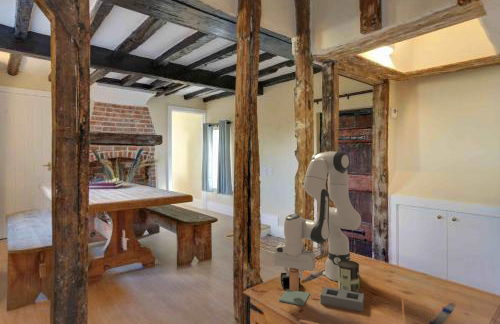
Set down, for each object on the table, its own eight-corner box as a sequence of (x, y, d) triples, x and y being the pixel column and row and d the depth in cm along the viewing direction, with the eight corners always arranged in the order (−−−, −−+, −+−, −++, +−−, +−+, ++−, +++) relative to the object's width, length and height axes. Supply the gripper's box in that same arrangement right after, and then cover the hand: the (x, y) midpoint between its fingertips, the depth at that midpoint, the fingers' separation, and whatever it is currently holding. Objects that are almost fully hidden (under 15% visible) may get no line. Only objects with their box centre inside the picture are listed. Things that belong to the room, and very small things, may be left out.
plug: (291, 286, 143) (290, 266, 143) (300, 288, 141) (299, 267, 141) (288, 290, 139) (288, 269, 139) (297, 292, 137) (297, 271, 137)
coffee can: (357, 287, 150) (357, 260, 150) (361, 296, 140) (360, 268, 140) (337, 286, 152) (336, 259, 152) (339, 295, 142) (338, 267, 142)
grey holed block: (324, 296, 141) (324, 286, 141) (364, 304, 133) (363, 293, 133) (320, 305, 133) (320, 294, 133) (362, 313, 125) (362, 302, 125)
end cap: (299, 282, 158) (298, 270, 157) (301, 288, 150) (300, 275, 150) (280, 283, 158) (280, 270, 158) (282, 289, 151) (281, 276, 150)
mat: (287, 290, 149) (287, 288, 149) (310, 294, 143) (310, 293, 143) (279, 301, 138) (279, 299, 138) (303, 306, 133) (303, 304, 133)
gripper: (316, 249, 138) (316, 277, 139) (276, 244, 147) (277, 271, 148) (313, 253, 133) (313, 282, 133) (271, 247, 142) (272, 275, 142)
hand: (294, 276), depth 140 cm, fingers closed on plug, 4 cm apart
